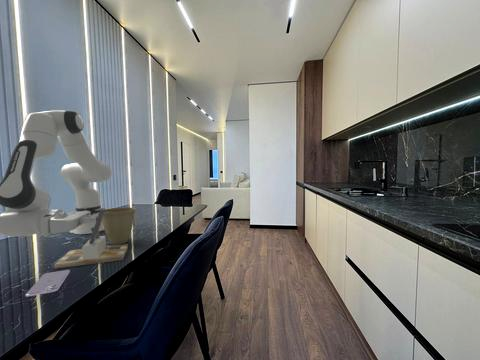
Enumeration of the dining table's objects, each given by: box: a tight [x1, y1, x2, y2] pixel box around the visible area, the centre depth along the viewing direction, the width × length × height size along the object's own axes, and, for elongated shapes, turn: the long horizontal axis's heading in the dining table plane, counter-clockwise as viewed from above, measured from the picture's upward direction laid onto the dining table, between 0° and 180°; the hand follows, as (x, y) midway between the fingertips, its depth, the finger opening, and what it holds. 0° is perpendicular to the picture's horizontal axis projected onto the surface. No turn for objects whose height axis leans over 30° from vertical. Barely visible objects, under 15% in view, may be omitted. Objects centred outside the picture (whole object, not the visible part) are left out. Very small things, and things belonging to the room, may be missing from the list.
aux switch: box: [91, 226, 101, 239], centre depth 95 cm, size 4×1×5 cm, turn 19°
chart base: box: [53, 243, 129, 270], centre depth 92 cm, size 15×22×2 cm
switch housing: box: [81, 235, 107, 260], centre depth 92 cm, size 13×5×5 cm, turn 19°
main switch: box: [88, 207, 106, 244], centre depth 89 cm, size 4×1×14 cm, turn 19°
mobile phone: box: [25, 269, 71, 298], centre depth 72 cm, size 8×1×15 cm
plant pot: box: [102, 206, 136, 246], centre depth 110 cm, size 15×15×16 cm
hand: (96, 218), depth 88 cm, fingers closed, pressing on main switch
